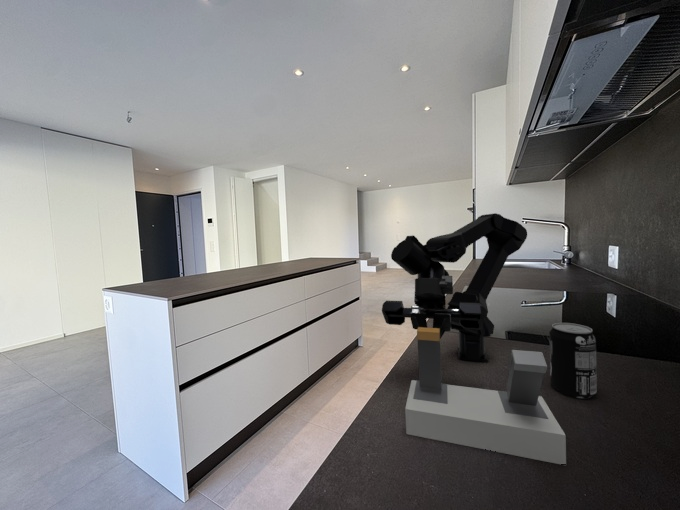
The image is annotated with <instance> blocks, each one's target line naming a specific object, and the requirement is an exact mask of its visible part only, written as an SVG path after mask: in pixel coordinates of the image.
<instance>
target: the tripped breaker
mask: <svg viewBox="0 0 680 510" xmlns="http://www.w3.org/2000/svg"><path fill="white" fill-rule="evenodd" d="M416 339H417V358H418V380H419V385H420V387H422V388H429V389H436V390H442V384H443V383H442V381H443V379H442V361H441V360H442V359H441V357H442V355H441V339H440V328H433V327H428V328H423V327H418V329H416Z"/></svg>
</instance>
